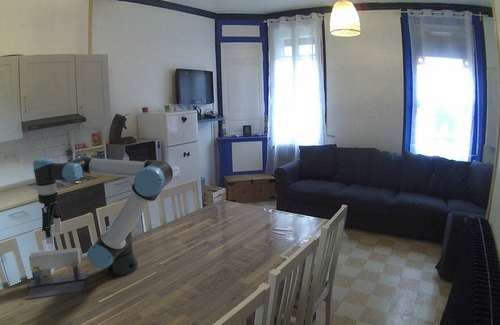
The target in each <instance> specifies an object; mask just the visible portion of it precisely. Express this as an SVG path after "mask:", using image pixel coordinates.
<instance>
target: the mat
mask: <svg viewBox="0 0 500 325" xmlns="http://www.w3.org/2000/svg"><path fill="white" fill-rule="evenodd" d="M85 282H86V280H85V281H80V282H73V283H66V284H59V285H52V286H45V287H38V288H31V289H30V291H29V293H28V295H27V296H26V297H25V300H26V301H27V300H33V299H40V298H48V297H53V296H59V295H60V296H61V295H67V294H74V293H78V292H79V293H80V292H82V291H83V288H84V286H85Z"/></svg>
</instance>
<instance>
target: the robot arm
mask: <svg viewBox="0 0 500 325" xmlns="http://www.w3.org/2000/svg"><path fill="white" fill-rule="evenodd" d="M32 165H33V174H34V179H35V183H36V186H35V189H36V192H37V194H38V195H37V196H38V197H37V198H38V202H39V204H42V205H43V207H42V208H41V213H42V214H41V220H42V221H41V222H42V224H41V225H42V227H41V231H42V232H44V236H45V241H46V245H52V244H55V240H54V234H53V233H54V232H55V233H57V232H62V231H63V230H62V224H61V218H62V214H61V210H60V207H59V204H58V201H59V194H58V192H57V191H58V186H57V181H70V182H71V181H78V180H80V179H81V177H82V176H83V175H84V174H86V175H87V174H88V175H99V176H100V175H101V176H112V177H113V176H114V177H115V176H116V177H128V178H134V179H133V183H132V184H131V190H132V192H131V194H130V195H129V196H128V198H127V200H126V201H125V202H124V204H123V205H122V207H121V209H120V210H119V212H118V213H117V215H116V217H115V218H114V220H113V221H112V223H111V224H110V225H108V226H107V227H106V226H105V227H106V228H105V230H103V231H102V232H101V234H100V235H99V236H98V238H97V239H96V241H95V243H93V244H92V245H91V246H90V247H89V249H88V250H87V254H86V256H87V258H88V261H89V262H90V264H91V265H93V266H94V267H95V268H99V269H105V271H106V274H107V275H109V276H112V277H121V276H126V275H130V274H132V273H133V272H135V271H137V269H139V262H138V259H137V257H136V255H135V253H134V248H133V247H134V246H133V234H132V233H133V231H132V229H133V228H134V226H136V224H137V222H138V220H139V219H140V218H141V216H142V214H143V212H144V211H145V210H146V209H147V207H148V206H149V204H150V202H155V201H156V200H157V198H158V197H159V195H160V194H161V192H162V190H164V188H165V187H166V186H167V185H169V183H171V181H172V179H173V177H174V171H173V168H172V166H171V165H170V164H169V163H168V162H167V161H164V160H157V159H156V160H152V159H151V160H150V159H146V160H145V161H138V160H137V161H136V160H124V159H123V160H122V159H110V158H107V159H106V158H95V157H92V156H89V155H84V156H80V157H78V158H75V159H72V160H70V161H67V162H60V163H58V162H57V163H56V162H54V160H53V159H52V157H45V158H44V157H42V158H36V159H34V160H33V162H32ZM52 218H53V219H52ZM52 220H53V221H52ZM52 223H53V229H54V232H53V229H52Z"/></svg>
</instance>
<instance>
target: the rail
mask: <svg viewBox="0 0 500 325" xmlns="http://www.w3.org/2000/svg"><path fill="white" fill-rule="evenodd" d="M80 252H81V251H80V247H74V248H72V247H71V248H64V249H62V248H61V249H57V250H56V249H55V250H51V251H45V252H37V253H32V252H31V253H32V254H31V253H30V254H31V255H30V254H29V256H28V260H29V267H30V271H31V272H32V269H33V268H38V270H45V269H52V268H54V269H58V268H66V267H67V268H68V267H72V266H71V264H72V263H76V264H77V265H79V266H80V264H81V262H82V258H81V253H80Z"/></svg>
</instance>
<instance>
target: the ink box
mask: <svg viewBox="0 0 500 325" xmlns="http://www.w3.org/2000/svg"><path fill="white" fill-rule="evenodd" d="M45 251H52V250H51V249H44V250H33V251H32V252H30V254H29V256H30V255H31V254H32V253H37V252H45ZM54 272H55V268H52V269H45V270H42V276H43V277H44V278H45V277H52V275H53V274H54ZM31 275H32V278H33V279H35V278H34V277H35V273H34V272H33V271H31Z"/></svg>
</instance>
